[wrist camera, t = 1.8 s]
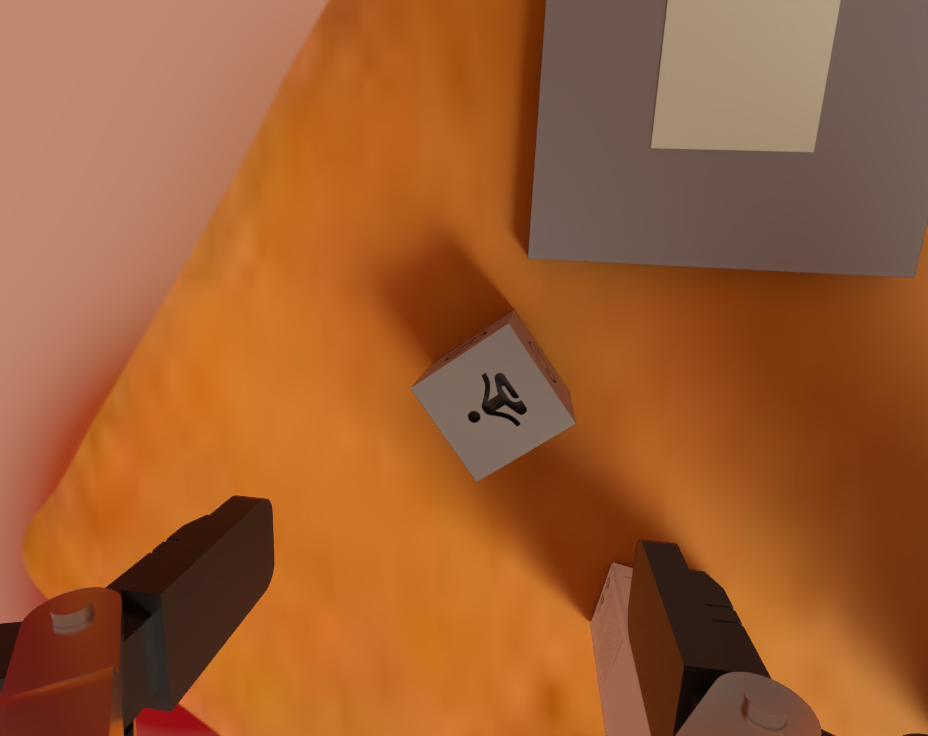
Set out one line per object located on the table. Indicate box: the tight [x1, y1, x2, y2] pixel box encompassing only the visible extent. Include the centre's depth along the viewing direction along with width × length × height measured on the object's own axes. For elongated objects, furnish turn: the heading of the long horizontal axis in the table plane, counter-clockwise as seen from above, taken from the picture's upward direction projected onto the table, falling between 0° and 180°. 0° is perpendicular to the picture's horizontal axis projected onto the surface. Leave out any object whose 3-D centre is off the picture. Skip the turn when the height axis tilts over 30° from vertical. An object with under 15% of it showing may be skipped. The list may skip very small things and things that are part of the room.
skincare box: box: [590, 563, 651, 736], centre depth 24 cm, size 6×4×12 cm
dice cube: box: [410, 310, 576, 482], centre depth 26 cm, size 5×5×5 cm
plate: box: [528, 0, 928, 278], centre depth 23 cm, size 16×16×2 cm
